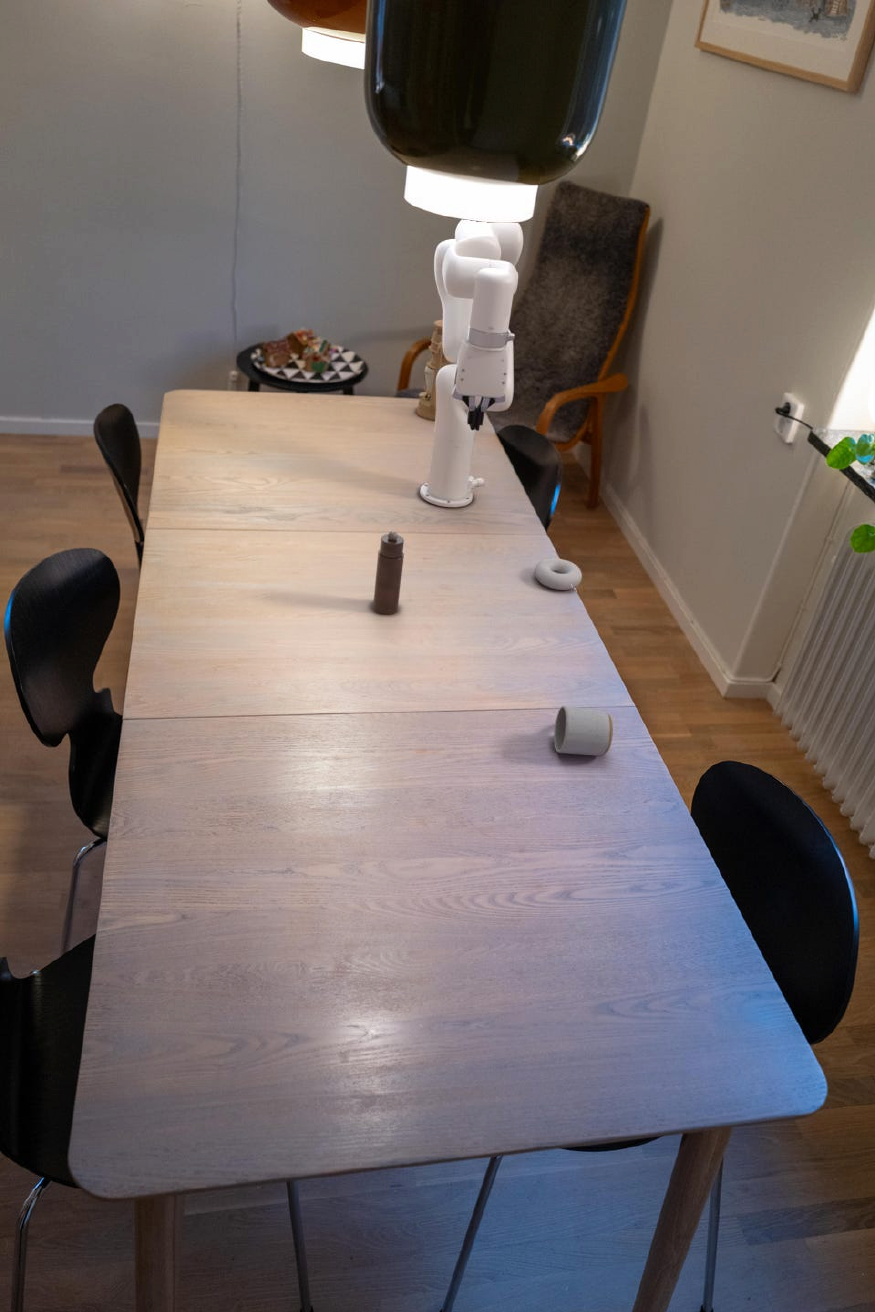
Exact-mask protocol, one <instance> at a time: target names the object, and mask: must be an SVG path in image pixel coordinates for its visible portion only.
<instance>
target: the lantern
mask: <svg viewBox="0 0 875 1312" xmlns="http://www.w3.org/2000/svg"><path fill="white" fill-rule="evenodd" d="M433 327H434V328H435V330H434V331H433V333H432V338H431V339H430V341H431V344H430V345H428V350H429V351H430V352H431V353H432V357H431V358H430V359H429V361H427V362H426V365H425V368H424V373H423V381H425V384H426V385H425V386H426V388H425V387H423V389H424V390H425V391H421V392H419V393H418V396H419V400H418V407H417V408H416V413H417V414H418V415H419V416H420V417H421V418H424V419H426V420H429V421H435V417H436V377H437V374H438V372H439V370H440V369H441V368H442V367H444V366H446V365H450V364H455V363H452V362H449V361H448V360H447V359H446V358H445V356H444V352H443V319H437V320H435V321H433Z"/></svg>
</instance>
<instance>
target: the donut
mask: <svg viewBox="0 0 875 1312" xmlns="http://www.w3.org/2000/svg"><path fill="white" fill-rule="evenodd" d="M534 576H535V578H536V580H537V581H538V582H539V583H540V584H541V585H543V586H544V587H547V588H550V589H552V590H557V591H567V590H572V589H575V588H577V586H579V585H580V584H581V583H582V578H583V574H582V571H581V568H579V566H578V565H577V564H575V563H573V562H572V561H570V560H566V559H564V558H563V559H562V558H555V557H552V558H545V559H542V560H541V561H539V562H538V563H537V564H536V565H535V569H534ZM571 584H572V586H573V588H572V586H571Z"/></svg>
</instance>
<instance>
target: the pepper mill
mask: <svg viewBox="0 0 875 1312" xmlns="http://www.w3.org/2000/svg"><path fill="white" fill-rule="evenodd" d="M404 541H405V539H404V537H403V536H401V535H399V534H398V532H397V531H395V530H391V531H389V532H388V533H386V534H383V535H381V537H380V546H379V547H380V548H379V550H378V552H377V560H376V561H377V562H376V571H375V581H374V582H375V583H374V593H373V603H372V608H373V611H375V612H376V613H378V614H381V615H394V614H395V613H397V612H398V610H399V602H400V593H401V586H402V585H401V583H402V575H403V566H404V559H405V553H404Z"/></svg>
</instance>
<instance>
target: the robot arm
mask: <svg viewBox="0 0 875 1312" xmlns="http://www.w3.org/2000/svg"><path fill="white" fill-rule="evenodd" d="M523 246H524V232H523V228H522V226H521V225H520V223H519V222H518V223H487V222H476V221H470V220H463V219H461V220H460V221H459V222H458V224H457V226H456V228H455V232H454V238H451V239H446V240H443V241H441V242H440V243H438V245H437V246H436V249H435V252H434V260H433V270H434V280H435V284H436V288H437V292H438V295H439V298H440V301H441V306H442V320H443V352H444V356H445V358H446V359H447V360H448V361H449V362H452V363H454V364H450V365H446V366H444V367H442V368H441V369H440V370H439V372H438V374H437V377H436V417H435V420H434V427H433V436H432V444H431V452H430V453H431V454H430V461H429V469H428V478H427V482H426V483H424V484H422V486H420V490H419V494H420V496H421V498H422V499H423V500H424V501H426V502H428V503H429V504H432V505H434V506H438V507H444V508H461V507H465V506H468V505H469V504H470V503H472V501H473V499H474V494H473V492H472V490H473V489H474V488H478V487H483V486H484V485H485V480H484V478H483V477H480V478H475V479H474V476H473V475H470V472H471V469H472V468H471V467H472V459H473V453H474V447H475V440H476V432H479V431H480V426H483V425H484V418H485V412H505V411H507V410H508V409H509V408H510V407H511V405H512V403H513V400H514V393H515V392H514V391H515V381H514V380H515V373H514V372H515V370H514V369H515V367H514V365H515V364H514V358H515V357H514V341H515V338H516V337H515V333H512V332H511V330H510V327H509V326H510V322H511V321H510V320H511V314H512V308H513V301H514V295H515V294H516V292H517V288H518V284H519V272H518V271H517V270H516V269H517V268H516V266H517V264H518V262H519V260H520V257H521V255H522V251H523Z"/></svg>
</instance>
